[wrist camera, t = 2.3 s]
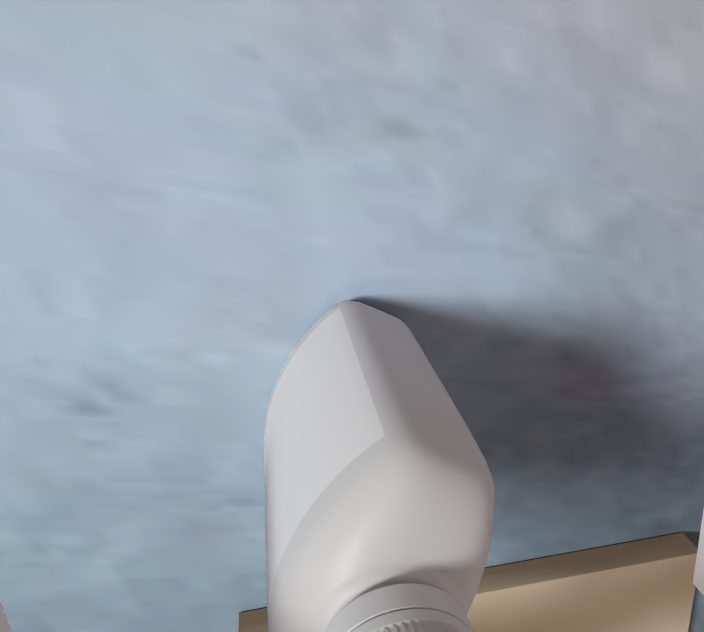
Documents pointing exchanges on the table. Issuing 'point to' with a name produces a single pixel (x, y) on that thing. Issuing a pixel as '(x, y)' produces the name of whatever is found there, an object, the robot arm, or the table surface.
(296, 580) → the eye dropper bottle
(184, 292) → the table surface
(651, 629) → the ring collar
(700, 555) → the robot arm
